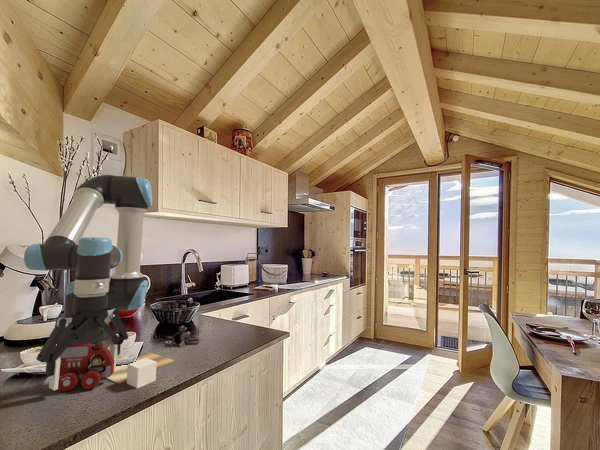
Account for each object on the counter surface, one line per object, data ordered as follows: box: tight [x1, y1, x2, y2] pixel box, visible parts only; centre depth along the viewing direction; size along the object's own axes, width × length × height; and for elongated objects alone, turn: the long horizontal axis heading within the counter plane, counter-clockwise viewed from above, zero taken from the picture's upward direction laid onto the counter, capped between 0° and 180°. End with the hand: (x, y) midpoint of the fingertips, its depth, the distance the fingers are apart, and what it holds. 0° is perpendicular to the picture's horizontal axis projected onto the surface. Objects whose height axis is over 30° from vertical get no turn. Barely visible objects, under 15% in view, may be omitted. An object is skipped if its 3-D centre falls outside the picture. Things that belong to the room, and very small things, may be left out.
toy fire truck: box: [57, 341, 114, 392], centre depth 72 cm, size 7×12×10 cm, turn 103°
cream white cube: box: [126, 358, 157, 389], centre depth 74 cm, size 5×5×5 cm
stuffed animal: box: [164, 325, 203, 348], centre depth 105 cm, size 12×10×12 cm
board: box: [105, 352, 176, 385], centre depth 83 cm, size 13×17×1 cm
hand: (85, 377), depth 72 cm, fingers open, 12 cm apart
